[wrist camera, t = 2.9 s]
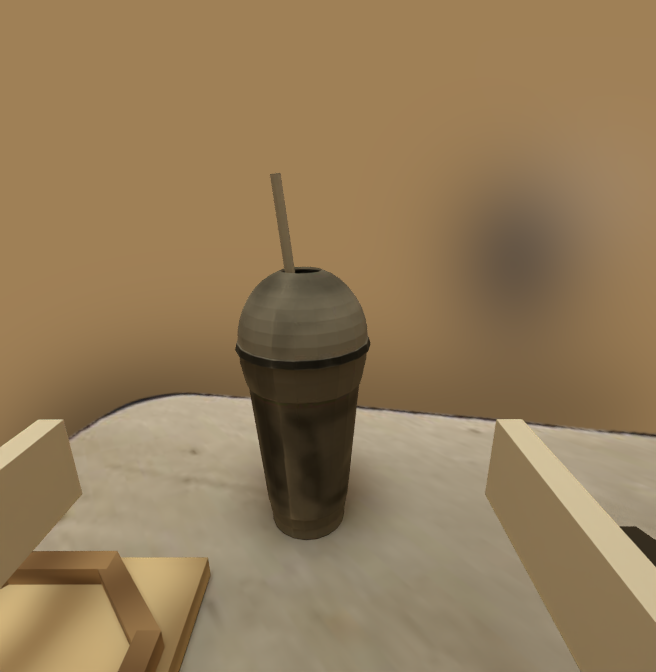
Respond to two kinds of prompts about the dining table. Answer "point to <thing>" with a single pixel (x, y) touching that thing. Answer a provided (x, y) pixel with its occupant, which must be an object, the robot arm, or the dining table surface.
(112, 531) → the dining table surface
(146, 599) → the board
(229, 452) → the dining table surface
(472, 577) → the dining table surface
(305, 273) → the beverage cup
